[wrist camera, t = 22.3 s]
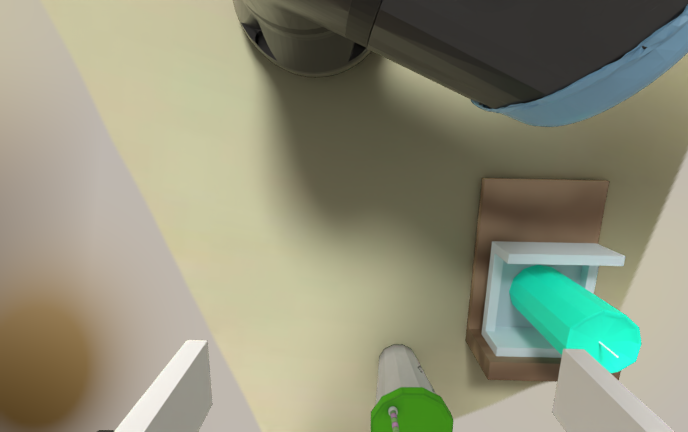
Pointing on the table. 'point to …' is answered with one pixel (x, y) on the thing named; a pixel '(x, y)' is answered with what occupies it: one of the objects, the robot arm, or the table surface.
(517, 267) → the light blue holder
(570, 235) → the track
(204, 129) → the table surface
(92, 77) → the table surface
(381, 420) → the cup
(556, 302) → the candle
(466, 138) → the table surface
